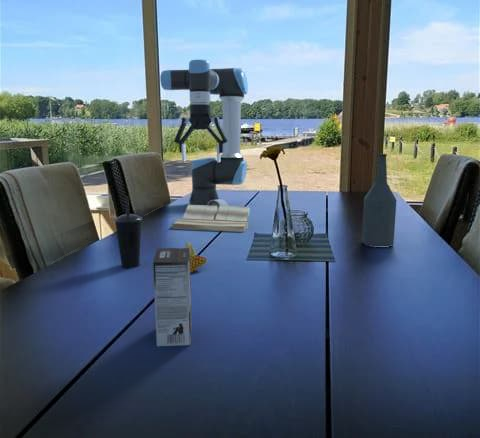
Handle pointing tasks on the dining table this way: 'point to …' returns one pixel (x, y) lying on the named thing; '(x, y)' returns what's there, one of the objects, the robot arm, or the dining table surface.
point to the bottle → (379, 210)
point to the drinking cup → (129, 237)
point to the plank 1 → (200, 212)
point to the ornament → (194, 258)
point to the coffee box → (172, 296)
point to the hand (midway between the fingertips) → (201, 161)
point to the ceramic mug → (217, 203)
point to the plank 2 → (232, 213)
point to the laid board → (210, 225)
